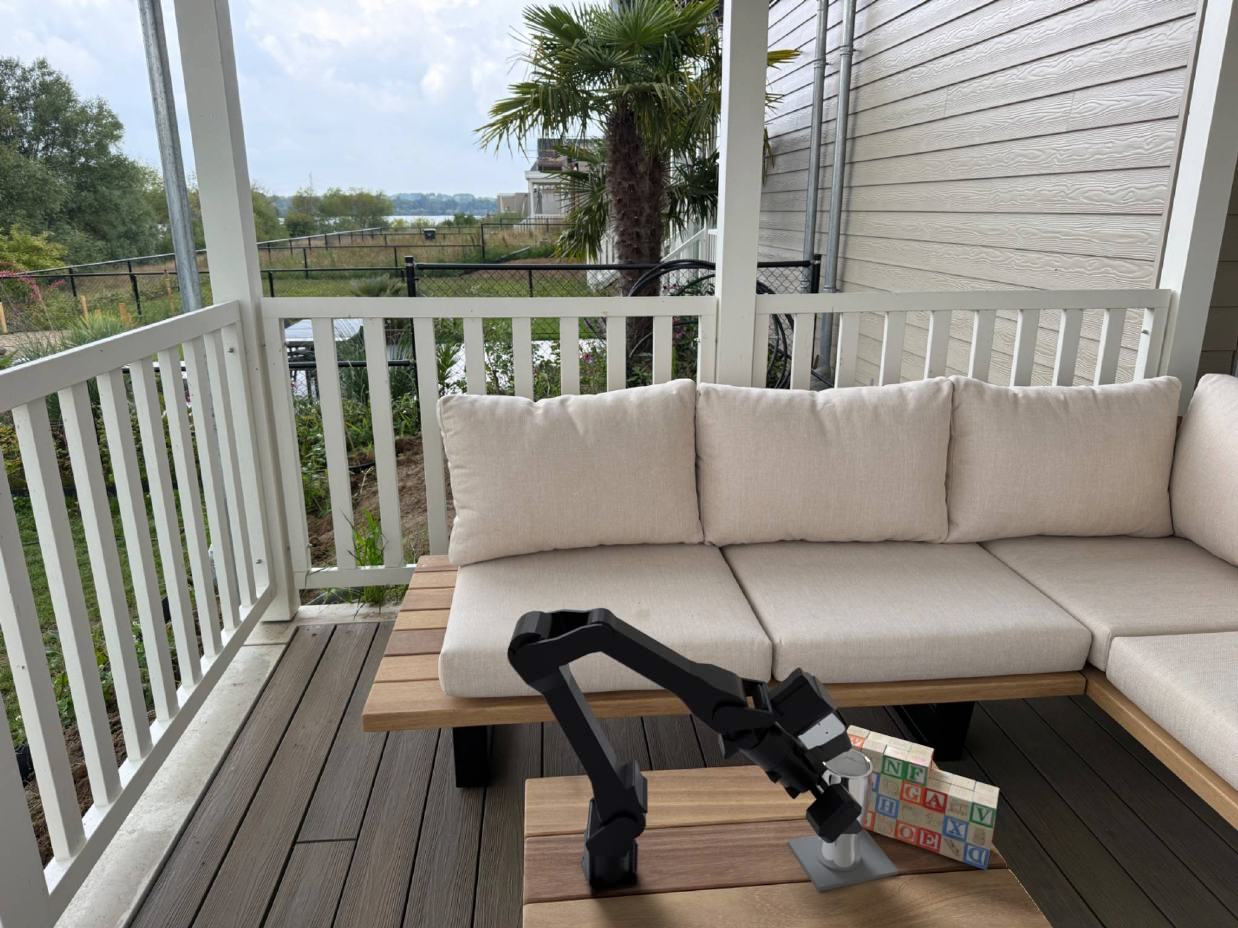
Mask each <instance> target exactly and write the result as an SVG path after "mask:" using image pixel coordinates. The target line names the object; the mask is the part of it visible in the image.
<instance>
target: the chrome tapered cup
mask: <svg viewBox="0 0 1238 928" xmlns="http://www.w3.org/2000/svg"><path fill="white" fill-rule="evenodd" d="M823 763H824V764H825V765H826V767H827V768H828V770H827V771H826V772H825V773H824V774H823V775H821V776H822V777H823V778H824V779H825V781H826V782H827V783H828V785H829V786H830V785H831V784H837V783H840V784H841V785H843V786H844V787H845V788H846V789H847V790H848V791H849V792H850V793H851V795H852V796H853V797H854V798H855V799H856V801H857V802H858V803H859V804H860V805H861V807H862V813H861V815H860V816H859V817H858V818H857V820H858V821H859V823H860V824H861V826H862V827H863V825H864V823H865V820H866V816H867V813H868V810H869V806H870V801H871V793H872V769H873V766H872V763H871V761H870V760H869V758H868V757H866V756H865V755H864V754H862V753H860V752H858V751H856V750H853V749H850V750H849V751H848V752H844V753H842V754H840V755H838V756H837V757H835V758H833V759H832V760H830V761H828V762H823ZM818 787H819V788H820V789H821V791H822V792H824V791H823V790H822V788H821V787H820V786H819V785H818ZM861 832H862V831H861ZM861 832H860V833H859V834H841V835H840V836H839V837H838V838H837V839H836V840H835V841H834V842H833V843H826V842H825V841H824V840H822V839H821V838H820V837H819V839H818V842H817V845H816V855H817V858H818V859H819V861H820V862H821V863H822V864H824V865H825V866H826V867H828V868H830V869H833V870H836V871H842V872H846V871H851V870H854V869H856V868H857V867H858V866H859V864H860V862H861V852H860V835H861Z"/></svg>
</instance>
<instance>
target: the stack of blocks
mask: <svg viewBox="0 0 1238 928" xmlns="http://www.w3.org/2000/svg"><path fill="white" fill-rule="evenodd" d="M846 731H847V733H848V736H849V738H850V741H851V743H852V748H851V749H853V750H856V751H858V752H860V753H862V754H864V755H865V756H866V757H868V758H869V760H870V761H871V763H872V766H873V769H872V793H871V801H870V806H869V810H868V813H867V816H866V820H865V823H864V825H863V828H865V829H866V830H868V831H872V832H874V833H876V834H880V835H882V836H886V837H889V838H891V839H895V840H898V841H902V842H904V843H908V844H910V845H912V846H917V847H919V848H922V849H925V850H928V851H931V852H934V853H937V854H939V855H942V856H945V857H947V858H951V859H953V860H957V861H959V862H961V863H962V862H963V863H964V864H968V865H971V866H973V867H977V868H978V869H979V868H980V869H982V870H984V871H985V870H986V871H987V869H988V863H989V857H990V853H991V848H992V841H993V837H994V833H995V832H994V830H995V824H996V816H997V815H996V814H997V809H998V808H997V807H998V799H999V794H1000V788H999V787H997V786H994V785H992V784H991V785H990V784H988V783H987V784H986V783H984V782H980V781H976V780H975V779H971V778H967V777H964V776H960V775H957V774H953V773H951V772H947V771H944V770H941V769H938V768H932V767H933V759H934V753H935V749H934V748H932V747H929V746H925V745H922V744H919V743H916V742H915V743H914V742H911V741H909V740H908V741H907V740H904V739H901V738H897V737H895V736H894V737H892V736H889V735H886V734H882V733H879V732H875V731H870V730H869V729H865V728H862V727H859V726H856V725H850V724H849V726H848V728H847V729H846Z"/></svg>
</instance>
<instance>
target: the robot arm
mask: <svg viewBox="0 0 1238 928" xmlns="http://www.w3.org/2000/svg"><path fill="white" fill-rule="evenodd" d="M514 627H515V628H514V629H513V633H512V636H511V639H510V642H509V645H508V647H507V652H506V654H507V657H506V658H507V661H508V662H509V664H510V666H511V667H512V668H513V670H514V671H515V672H516V673H517V675H518V676H519V677H520V679H521V680H522V681H523V682H524V684H526V685H527V686H529V687H530V688H532V689H533V690H535V691H536V692H538V693H539V694H541V695H542V697H543V699H544V700H545V703H546V705H547V706H548V708H549V711H551V713H552V715H553V717H554V719H555V720H556V722H557V724H558V726H559V728H560V729H561V731H562V733H563V736H564V737H565V738H566V740H567V742H568V744H569V746H570V747H571V749H572V750H573V752H574V755H575V756H576V758H577V760H578V762H579V764H580V766H581V767H582V769H583V771H584V773H585V774H586V776H587V778H588V780H589V782H590V784H591V789H592V795H593V796H592V797H591V799H589V802H588V803H589V804H588V811H587V813H588V814H587V824H586V825H587V826H586V828H585V829H584V830H583V855H582V856H581V857H580V863H581V866H582V869H583V872H584V877H585V879H586V882H587V886H588V889H589V892H590V894H592V895H594V894H600V893H605V892H611V891H615V890H620V889H625V888H630V887H636V886H637V885H638V884H639V881H638V877H637V874H636V872H637V870H638V869H639V844H638V841H637V838H639V837H640V836H641V835H642V834H643V833H644V831H645V829H646V827H647V814H648V813H649V812H648V811H649V809H648V808H649V807H648V806H649V801H648V800H649V797H648V796H649V795H648V794H649V792H648V788H649V787H648V786H649V785H648V783H649V782H648V778H647V777H645V776H644V775H643V774H642V772H641V771H640V768H639V766H638V762H637V760H636V759H635V758H634V759H632V760H630V761H628V762H625V761H623V760H621V759H620V758H619V757H618V756H617V754H616V753H615V751H614V749H613V747H612V745H611V743H610V742H609V740H608V738H607V736H606V735H605V733H604V730H603V729H602V727H601V725H600V724H599V721H598V720H597V717H596V716H595V713H594V712H593V710H592V709H591V707H590V705H589V703H588V701H587V699H586V697H585V695H584V693H583V691H582V689H581V688H580V686H579V685H578V683H577V681H576V679H575V677H574V675H573V673H572V670H571V668H570V663H572V662H575V661H577V660H580V659H581V658H583V657H585V656H588V655H590V654H595V653H603V654H604V655H605V656H607V657H609V658H611V659H613V660H614V661H616V662H617V663H619V664H620V665H623V666H625V667H626V668H628V669H630V670H632V671H634V672H635V673H637V674H638V675H640V676H642V677H643V678H645V679H647V680H649V681H651V682H652V683H654V684H656V685H657V686H659V687H660V688H662V689H664V690H666V691H667V692H669V693H671V694H673V695H674V696H676V697H677V698H678V699H679V700H680V701H681V702H682V703H683V704H684V705H685V706H686V708H687V709H688V710H689V711H690V713H691V714H692V715H693V716H694V717H695V718H697V720H698V721H700V722H701V723H702V724H704V725H705V726H706V727H707V729H709V730H711V731H712V732H714V733H716V734H718V738H717V740H718V741H717V742H718V744H719V748H720V750H721V754H722V757H723V759H724V760H726V761H727V760H729V759H730V758H732V757H733V756H735V755H736V754H737V753H738V752H741V753H742V754H744V755H745V756H746V757H747V758H749V759H750V760H751V761H752V762H753V763H754V764H756V765H757V766H758V767H759V768H760V769H762V770H763V771H764V773H765V775H767V777H768V779H769V780H770V781H771V782H772V783H773V784H775V785H776V784H777V783H778V784H780V785H781V786H782V787H783V789H784V790H785V792H786V793H787V794H788V796H789V797H790V798H791V799H793V800H795V799H797V797H798V796H800V794H805V793H808V792H810V793H811V795H813V797H814V798H815V800H814V801H812V803H811V804H810V805H809V806H808V807H806V810H805V811H806V812H805V820H806V821H807V822H808V824H809V825H810V826H811V828H812V829H813V830H814V832H815V833H816V835H818V836H819V837H820V838H821V839H822V840H824V841H825V842H826V843H833V842H834V841H835V840H836V839H837V838H838V837H839V836H840V835H841V834H859V833H860V832H861V831H862V829H863V827H862V826H861V824H860V823H859V821H858V820H857V818H858V817H859V816H860V815H861V813H862V807H861V805H860V804H859V803H858V802H857V801H856V799H855V798H854V797H853V796H852V795H851V793H850V792H849V791H848V790H847V789H846V788H845V787H844V786H843V785H841V784H840V783H837V784H831V785H830V786H829V785H828V783H827V782H826V781H825V779H824V778H823V777H822V776H821V775H823V774H824V773H825V772H826V771H827V770H828V768H827V767H826V765H825V764H824V763H823V762H828V761H830V760H832V759H833V758H835V757H837V756H838V755H840V754H842V753H844V752H848V751H849V750H850V749H851V748H852V743H851V741H850V738H849V736H848V733H847V728H846V726H845V725H844V723H842V721H841V720H840V719H839V718H838V717H837V716H836V715H835V714H834V712H835V711H836V710H838V707H837V704H836V702H835V700H834V698H833V697H832V695H831V694H830V692H829V691H828V690H827V688H826V687H825V686H824V684H823V683H822V682H821V681H820V679H818V677H816V675H812V674H811V673H809V671H804V670H803V669H802V668H801V667H797V668H795V669H794V670H792V672H790V674H789V675H788V676H787V677H785V679H783V680H782V681H781V682H780V683H778V684H777V685H775V686H774V687H772V688H771V690H770V689H769V686H768V683H767V682H766V681H764V680H758V679H752V678H747V677H740V676H739V675H738V674H737V673H735V672H733V671H730V670H728V669H725V668H724V667H720V666H717V665H715V664H713V663H704V662H703V663H702V662H696V661H694V660H692V659H689V658H687V657H686V656H684V655H682V654H681V653H679V652H677V651H675V650H673V649H671V648H670V647H668V646H666V645H665V644H663V643H661V642H660V641H658V640H657V639H655V638H653V637H652V636H649V635H648V634H646V633H645V632H643V631H642V630H639V629H638V628H636V627H635V626H633V625H631V624H630V623H628V622H627V621H624V620H623V619H621V618H619V617H618V616H617V615H615V614H614V613H613V612H612V611H611V610H610V609H608V608H605V607H597V608H591V609H586V610H585V609H584V610H581V609H570V608H569V609H568V608H567V609H566V608H561V609H557V610H552V611H548V612H545V611H541V610H532V611H528V612H526V613H524V614H522V615H520V617H519V618H518V620H517V621H516V624H515V626H514ZM748 698H752V703H753V707H754V708H753V707H749V701H748ZM818 785H819V786H820V787H821V788H822V790H823V791H824V792H822V791H821V789H820V788H819V787H818Z"/></svg>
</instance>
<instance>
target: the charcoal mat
mask: <svg viewBox="0 0 1238 928" xmlns="http://www.w3.org/2000/svg"><path fill="white" fill-rule="evenodd" d="M818 839H819V836H818V835H817V834H813V835H809V836H802V837H799V838H793V839H788V840H787V845H788V847H789V849H790V851H791V852H792V853H793V855H794V857H795V858H796V860H797V861H798V863H799V864H800V865H801V867H802V869H803V870H804V872H805V874H806V875H807V876H808V878H809V879H810V881H811V882H812V884H813V886H814V887H815V889H816V890H817V892H822V891H827V890H831V889H837V888H841V887H845V886H851V885H854V884H855V885H856V884H860V883H864V882H865V883H866V882H869V881H873V880H877V879H883V878H884V879H885V878H888V877H893V876H898V875H899V870H898V868H897V867H896V865H894V863H893V862H892V861H891V859H890V858H889V857H888V855H887V854H886V853H885V852H884V851H883V849H882V848H881V846H880V845H879V844H878V843H877V842H876V841H875V839H874V838H873V837H872V835H871V834H870V833H869V832H868V831H867V829H865V828H863V829H862V832H861V835H860V852H861V862H860V864H859V866H858V867H857V868H856V869H854V870H851V871H846V872H842V871H836V870H833V869H830V868H828V867H826V866H825V865H824V864H822V863H821V862H820V861H819V859H818V858H817V855H816V845H817V842H818Z"/></svg>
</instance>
